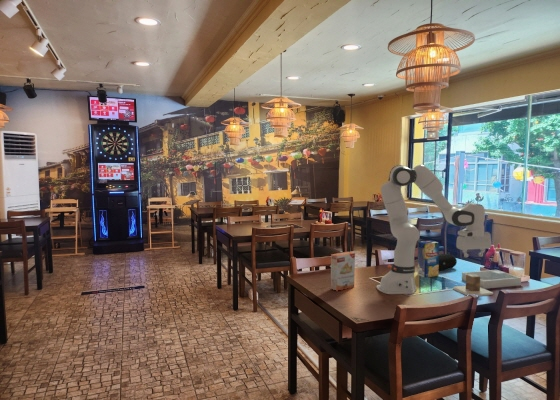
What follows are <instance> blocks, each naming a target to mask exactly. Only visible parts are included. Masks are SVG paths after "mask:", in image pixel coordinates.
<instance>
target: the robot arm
mask: <svg viewBox="0 0 560 400" xmlns="http://www.w3.org/2000/svg"><path fill="white" fill-rule="evenodd" d="M410 184H415V185H416V187H418V189H419V190H420V191H421V192H422V193H423V194H424V195H426V197H428V199H431V201H432V202H433V203H434V204H435V205H436V206H437V208H438V209H439V211H441V214H442V217H443V219H444V221H445V222H446V223H447V224H448V225H449V224H450V225H453V226H456V227H465V228H463V229H461V230H458V231H457V235H458V236H457V238H456V242H455V243H456V245H455V247H456V249H459V250H462V253H463V257H464V258H469V256H470V255H469V253H467V252H468V250H480V252H478V257H481V258H482V257H484V254H485V252H486V249H488V250H489V249H491V248H492V234H491V233H490V232H489V231H485V225H484V223H485V221H486V218H485V217H486V210H485V206H484V205H482V204H479V203H474V202H469V203H467V205H464V206H462V207H459V208H458V207H456V206H454V205H452V204H451V203H450V202H449V200H448V199H447V198H446V197H445V195H444V194H443V190H444V185H443V183H442V182H441V180H440V178H439V177H438V176H437V175H436V174H435V173H434V172H433V170H431V169H429V168H428V167H427V166H426V165H423V164H418V165H416V166H414V167H412V168H409V167H407V166H406V165H402V164H397V165H394V166H392V168H391V169H390V172H389V176H388V179H387V182H385V183H383V184H382V185H381V186H380V194H381V198H382V201H383V205H384V208H385V211H386V212H387V213H386V214H387V216H388V221H389V222H388V223H389V226H390V227H389V228H390V232H391V234H392V236H393V237H394V238H396V240H397V241H396V246H395V249H394V250H393V264H392V265H391V264H388V265H387V268H388V269H390V270H389V272H387V273H386V274H385V275H383V276H382V277H381V279H380V283H379V284H377V285H376V289H377V290H378V291H379V292H381V293H383V294H387V295H414V294H415V292H417V285H416V281H415V272H416V266H415V251H416V246H417V244H418V242H419V239H420V236H421V235H420V231H419V229H418V228H417V226H415V225H414V224H412V223H410V221H409V216H408V207H407V205H406V202H405V198H404V196H403V194H402V187H406V186H408V185H410Z"/></svg>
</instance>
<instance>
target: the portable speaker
mask: <svg viewBox="0 0 560 400" xmlns="http://www.w3.org/2000/svg"><path fill="white" fill-rule="evenodd" d="M457 262H458V260H457V258H456V256H455V255H454V254H450V253H446V254H439V271H443V270H448V269H452V268H454V267H455V266H456V265H457Z"/></svg>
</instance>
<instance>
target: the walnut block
mask: <svg viewBox="0 0 560 400" xmlns="http://www.w3.org/2000/svg"><path fill="white" fill-rule="evenodd" d="M465 286H466V289H468V290H470V291H480V276H477V275H475V274H469V275H466V281H465Z"/></svg>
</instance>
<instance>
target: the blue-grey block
mask: <svg viewBox="0 0 560 400" xmlns="http://www.w3.org/2000/svg"><path fill="white" fill-rule="evenodd" d="M500 271H501V270H499V271H491V280H496V279H505V273H506V272H505V273H503V272H504V271H502V272H500Z"/></svg>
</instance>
